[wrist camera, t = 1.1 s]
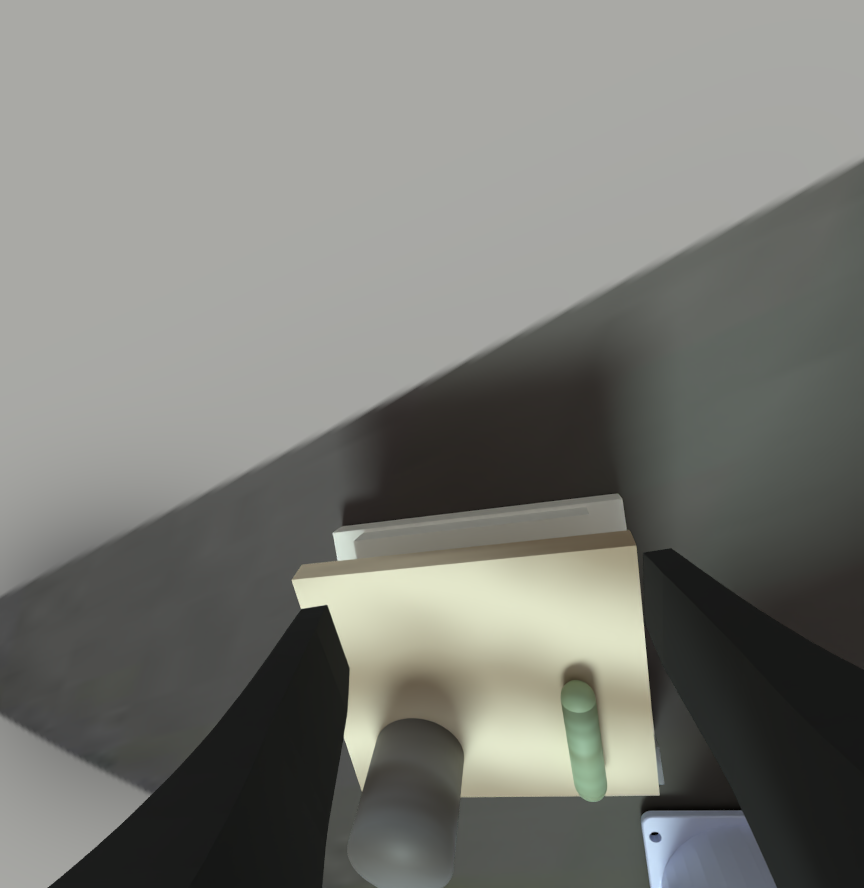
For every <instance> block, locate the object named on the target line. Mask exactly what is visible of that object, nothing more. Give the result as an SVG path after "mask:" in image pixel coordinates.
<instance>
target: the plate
mask: <svg viewBox="0 0 864 888" xmlns="http://www.w3.org/2000/svg"><path fill="white" fill-rule="evenodd" d="M292 583H293V586H294V589H295V592H296V595H297V598H298V601H299V604H300V607H301V609H304V608H310V607H316V606H322V605H328V608H329V611H330V614H331V617H332V619H333V622H334V625H335V628H336V631H337V634H338V636H339V639H340V642H341V645H342V648H343V651H344V653H345V656H346V659H347V662H348V665H349V668H350V675H349V697H348V712H347V719H346V725H345V731H344V739H345V742H346V745H347V748H348V751H349V754H350V757H351V760H352V763H353V766H354V769H355V772H356V775H357V778H358V781H359V784H360V787H361V790H362V794H361V798H360V802H359V805H358V809H357V812H356V816H355V819H354V823H353V827H352V830H351V834H350V837H349V841H348V845H347V854H348V857H349V860H350V862H351V864H352V866H353V867H354V869H355V870H356V871H357V872H358V873H359V874H360V875H361V876H362V877H363V878H364V879H365V880H367V881H368V882H370V883H371V884H373V885H375V886H377V887H379V888H443V887H444V886H445V885H446V884H447V883H448V882H449V881H450V879H451V877H452V875H453V870H454V860H455V850H456V839H457V828H458V818H459V807H460V797H541V796H581V797H582V798H583V799H585V800H587V801H590V802H596V801H599V800H601V799H602V798H603V797H604V796H660V794H659V783H658V773H657V762H656V751H655V740H654V730H653V719H652V708H651V698H650V687H649V676H648V665H647V655H646V644H645V633H644V622H643V612H642V601H641V590H640V580H639V569H638V558H637V547H636V544H635V541H634V539H633V537H632V534H631V532H630V530H626V531H616V532H607V533H597V534H588V535H578V536H569V537H559V538H550V539H540V540H531V541H522V542H512V543H503V544H493V545H484V546H474V547H465V548H455V549H446V550H436V551H427V552H418V553H408V554H399V555H389V556H380V557H370V558H361V559H351V560H342V561H332V562H323V563H314V564H304V565H301V567H300V568H299V570H298V571H297V573H296V574H295V576H294V577H293V579H292Z"/></svg>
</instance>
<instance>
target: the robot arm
mask: <svg viewBox="0 0 864 888" xmlns="http://www.w3.org/2000/svg"><path fill="white" fill-rule="evenodd" d="M643 569H644V616H645V625H646V627H647V629H648V632H649V634H650V637H651V639H652V642H653V644H654V646H655V649H656V651H657V653H658V656H659V658H660V660H661V662H662V665H663V667H664V668H665V670H666V672H667V674H668V676H669V678H670V679H671V681H672V683H673V685H674V686H675V688H676V690H677V692H678V693H679V695H680V697H681V699H682V701H683V702H684V704H685V706H686V708H687V709H688V711H689V713H690V714H691V716H692V718H693V720H694V721H695V723H696V725H697V727H698V728H699V730H700V732H701V734H702V735H703V737H704V739H705V741H706V742H707V744H708V746H709V748H710V749H711V751H712V753H713V755H714V756H715V758H716V760H717V762H718V763H719V765H720V767H721V769H722V771H723V773H724V775H725V776H726V778H727V780H728V782H729V784H730V786H731V788H732V790H733V792H734V794H735V796H736V798H737V801H738V803H739V805H740V807H741V809H742V810H700V811H646V812H645V813H643V815H642V816H641V826H642V833H643V840H644V847H645V854H646V861H647V868H648V875H649V882H650V888H864V670H862V669H860V668H859V667H857V666H855V665H853V664H851V663H849V662H847V661H845V660H843V659H841V658H840V657H838V656H836V655H834V654H832V653H830V652H828V651H826V650H825V649H823V648H821V647H819V646H818V645H816V644H814V643H812V642H810V641H809V640H807V639H805V638H804V637H802V636H800V635H799V634H797V633H795V632H794V631H792V630H790V629H789V628H787V627H785V626H784V625H782V624H780V623H779V622H777V621H776V620H774V619H772V618H771V617H769V616H768V615H766V614H765V613H763V612H761V611H760V610H758V609H757V608H755V607H754V606H752V605H751V604H749V603H748V602H746V601H745V600H743V599H742V598H740V597H739V596H737V595H736V594H735V593H733V592H732V591H730V590H729V589H727V588H726V587H724V586H723V585H722V584H720V583H719V582H717V581H716V580H715V579H713V578H712V577H710V576H709V575H708V574H706V573H705V572H703V571H702V570H701V569H699V568H698V567H696V566H695V565H694V564H692V563H691V562H689V561H688V560H687V559H685V558H684V557H683V556H681V555H680V554H678V553H677V552H676V551H674V550H673V549H671V548H670V549H664V550H658V551H652V552H646V553H643ZM349 675H350V668H349V665H348V662H347V659H346V656H345V653H344V651H343V648H342V645H341V642H340V639H339V636H338V634H337V631H336V628H335V625H334V622H333V619H332V617H331V614H330V611H329V608H328V605H322V606H316V607H310V608H304V609H301V611H300V612H299V613H298V615H297V616H296V618H295V619H294V620H293V622H292V623H291V625H290V626H289V627H288V629H287V630H286V632H285V633H284V635H283V636H282V637H281V639H280V640H279V642H278V643H277V645H276V646H275V648H274V649H273V650H272V652H271V653H270V655H269V656H268V658H267V659H266V660H265V662H264V663H263V665H262V666H261V667H260V669H259V670H258V671H257V673H256V674H255V676H254V677H253V678H252V680H251V681H250V682H249V684H248V685H247V687H246V688H245V689H244V691H243V692H242V693H241V695H240V696H239V697H238V698H237V700H236V701H235V702H234V703H233V705H232V706H231V707H230V708H229V710H228V711H227V712H226V713H225V715H224V716H223V717H222V719H221V720H220V721H219V722H218V724H217V725H216V726H215V727H214V728H213V730H212V731H211V732H210V733H209V734H208V736H207V737H206V738H205V739H204V740H203V741H202V742H201V744H200V745H199V746H198V747H197V748H196V749H195V750H194V751H193V752H192V754H191V755H190V756H189V757H188V758H187V759H186V760H185V761H184V762H183V763H182V764H181V766H180V767H179V768H178V769H177V770H176V771H175V772H174V773H173V774H172V775H171V776H170V777H169V778H168V779H167V780H166V781H165V782H164V783H163V784H162V785H161V786H160V787H159V788H158V789H157V790H156V791H155V792H154V793H153V794H152V795H151V796H150V797H149V798H148V799H147V800H146V801H145V802H144V803H143V804H142V805H141V806H140V807H139V808H138V809H137V810H136V811H135V812H134V813H133V814H131V815H130V817H128V818H127V819H126V820H125V821H124V822H123V823H122V824H121V825H120V826H119V827H118V828H117V829H115V830H114V831H113V832H112V833H111V834H110V835H109V836H108V837H107V838H106V839H104V840H103V841H102V842H101V843H100V844H99V845H98V846H97V847H96V848H94V849H93V850H92V851H91V852H90V853H88V854H87V855H86V856H85V857H84V858H83V859H82V860H80V861H79V862H78V863H77V864H76V865H75V866H73V867H72V868H71V869H70V870H69V871H68V872H66V873H65V874H64V875H63V876H61V878H59V879H58V880H57V881H55V882H54V883H53V884H52V885H51V886H49V887H48V888H322V881H323V870H324V858H325V847H326V839H327V831H328V824H329V818H330V812H331V806H332V800H333V795H334V789H335V783H336V778H337V772H338V766H339V761H340V755H341V749H342V743H343V737H344V731H345V725H346V719H347V712H348V697H349ZM652 832H658V834H657V835H651V833H652Z"/></svg>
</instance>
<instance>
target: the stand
mask: <svg viewBox="0 0 864 888" xmlns="http://www.w3.org/2000/svg"><path fill="white" fill-rule="evenodd" d="M626 530H627V528H626V521H625V514H624V507H623V499H622V498H621V497H620V495H619V494H618V493H616V494H608V495H600V496H591V497H583V498H575V499H566V500H558V501H550V502H541V503H533V504H524V505H516V506H508V507H499V508H491V509H483V510H474V511H466V512H458V513H449V514H441V515H433V516H424V517H416V518H408V519H399V520H391V521H383V522H374V523H366V524H357V525H349V526H342V527H340V528H339V529H338V530H336V531H335V532H333V537H334V543H335V548H336V554H337V559H338V561H342V560H351V559H361V558H370V557H380V556H389V555H399V554H408V553H418V552H427V551H436V550H446V549H455V548H465V547H474V546H484V545H493V544H503V543H512V542H522V541H531V540H540V539H550V538H559V537H569V536H578V535H588V534H597V533H607V532H616V531H626ZM652 719H653V717H652ZM653 730H654V725H653ZM654 740H655V751H656V762H657V773H658V783H659V785H664V778H663V771H662V764H661V757H660V749H659V745H658V742H657V740H656V737H655V732H654Z"/></svg>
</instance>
